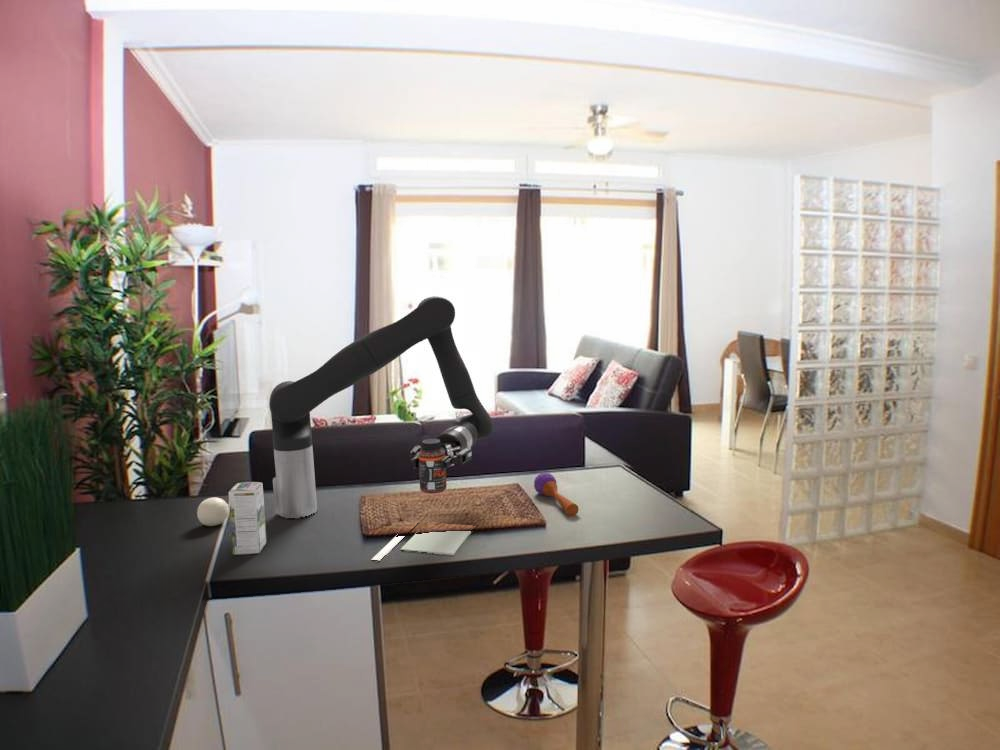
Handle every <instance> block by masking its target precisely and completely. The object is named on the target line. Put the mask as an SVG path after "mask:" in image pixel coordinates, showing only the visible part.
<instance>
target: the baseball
mask: <svg viewBox="0 0 1000 750" xmlns="http://www.w3.org/2000/svg"><path fill="white" fill-rule="evenodd" d="M229 512H230V505H229V503H227V502H226V501H225V500H224V499H223V498H221V497H220V498H219V497H215V496H214V497H208V498H206V499H204V500H203V501H202V502H200V504H199V505H198V507H197V511H196V515H197V519H198V520H199V522H200V523H201V524H203V525H205V526H207V527H215V526H218V525H221V524H223V523H224V522H225V520H227V517H228V516H229Z"/></svg>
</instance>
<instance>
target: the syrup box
mask: <svg viewBox="0 0 1000 750" xmlns="http://www.w3.org/2000/svg"><path fill="white" fill-rule="evenodd" d="M263 483H264V482H259V481H243V482H238V483H236V484H235V485H234V486H233V487H232V488H231V489H230V490H229V491H228V500H229V501H228V502H229V503H228V506H229V517H230V531H231V543H232V544H231V545H232V555H234V556H236V555H237V556H238V555H252V554H260V553H261V552H262V550H263V548H264V547H265V546H266V545H267V543H268V542H267V541H268V540H267V530H266V529H267V528H266V516H265V515H266V514H265V513H266V511H265V498H264V487H263Z"/></svg>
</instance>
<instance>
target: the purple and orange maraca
mask: <svg viewBox="0 0 1000 750" xmlns="http://www.w3.org/2000/svg"><path fill="white" fill-rule="evenodd" d="M533 484H534V485H533V488H534V489H535V491H536V493H538V494H539V495H541V496H546V497H554V498H555V500H556V501H557V502H558V503H559V505H560V507H561V508H562V509H563V511H564V513H565V514H566V516H568V517H572V516H576V515H577V514H578V513H579V506H578V505H577V504H575V502H573V501H571V500H570V499H568V498H566V497H565V496H563V495H562V494H560V493H558V484H557V480H556V477H555V476H554V475H552V474H551V473H549V472H542V473H541V472H540V473H539V474H538V475H537V476H535V479H534V482H533Z"/></svg>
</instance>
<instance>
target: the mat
mask: <svg viewBox="0 0 1000 750" xmlns="http://www.w3.org/2000/svg"><path fill="white" fill-rule="evenodd" d="M471 534H472V532H471V531H446V532H429V533H422V534H416V533H415V534H414V535H413V536H412V537H410V538H409V540H408V541H407V542H406V543H405V544H404V545H402V546H401V548H400V551H401V550H411V551H418V552H417V553H421V552H427V553H426V554H432V553H434V554H435V555H444V554H445V556H454V555H455V554H456V553H457V552H458V550H459V549H460V548H461V547H462V545H463V544H464V543H465V541H466V540H467V538H469V536H470V535H471Z"/></svg>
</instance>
